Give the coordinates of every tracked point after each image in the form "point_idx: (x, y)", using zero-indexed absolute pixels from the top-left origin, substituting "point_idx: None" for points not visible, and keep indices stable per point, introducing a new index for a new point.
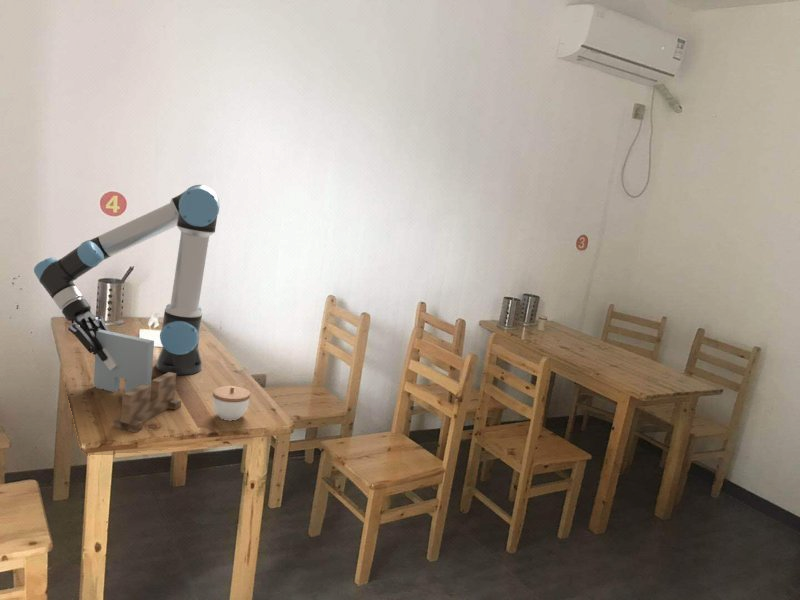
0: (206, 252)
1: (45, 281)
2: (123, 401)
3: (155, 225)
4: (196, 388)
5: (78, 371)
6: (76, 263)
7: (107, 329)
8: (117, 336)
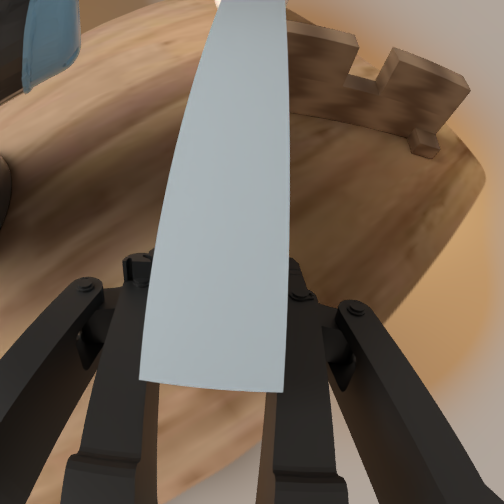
0: None
1: None
2: (460, 100)
3: None
4: (103, 99)
5: None
6: None
7: (7, 374)
8: (288, 90)
